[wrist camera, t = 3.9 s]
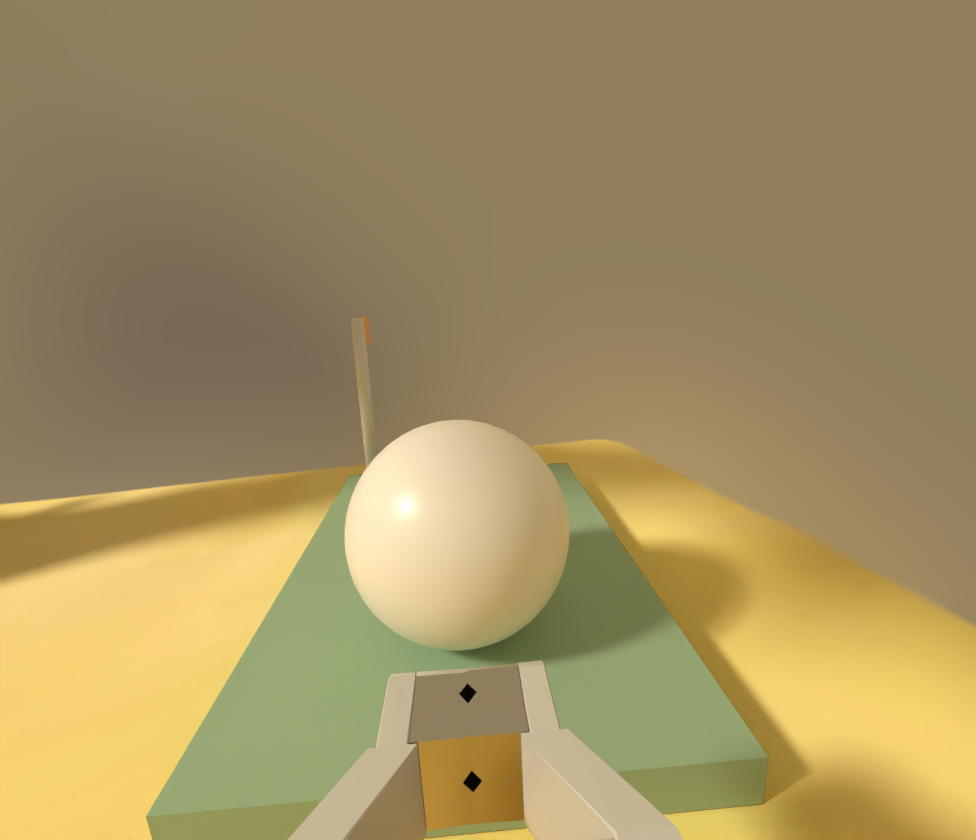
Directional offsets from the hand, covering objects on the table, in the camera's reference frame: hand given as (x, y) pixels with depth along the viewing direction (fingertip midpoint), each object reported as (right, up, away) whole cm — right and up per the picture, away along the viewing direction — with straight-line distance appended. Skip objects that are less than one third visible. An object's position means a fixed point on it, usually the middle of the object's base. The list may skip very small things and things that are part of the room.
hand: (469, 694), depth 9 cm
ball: (-1, 0, +13) cm, 13 cm away
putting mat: (-1, -5, +22) cm, 23 cm away
